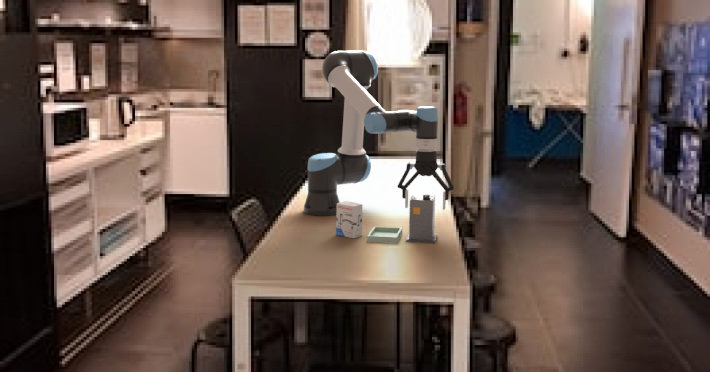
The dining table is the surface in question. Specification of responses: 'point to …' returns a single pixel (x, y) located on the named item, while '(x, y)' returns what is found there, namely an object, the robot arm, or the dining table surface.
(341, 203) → the ink box
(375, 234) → the tray
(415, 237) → the control unit
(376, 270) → the dining table surface
